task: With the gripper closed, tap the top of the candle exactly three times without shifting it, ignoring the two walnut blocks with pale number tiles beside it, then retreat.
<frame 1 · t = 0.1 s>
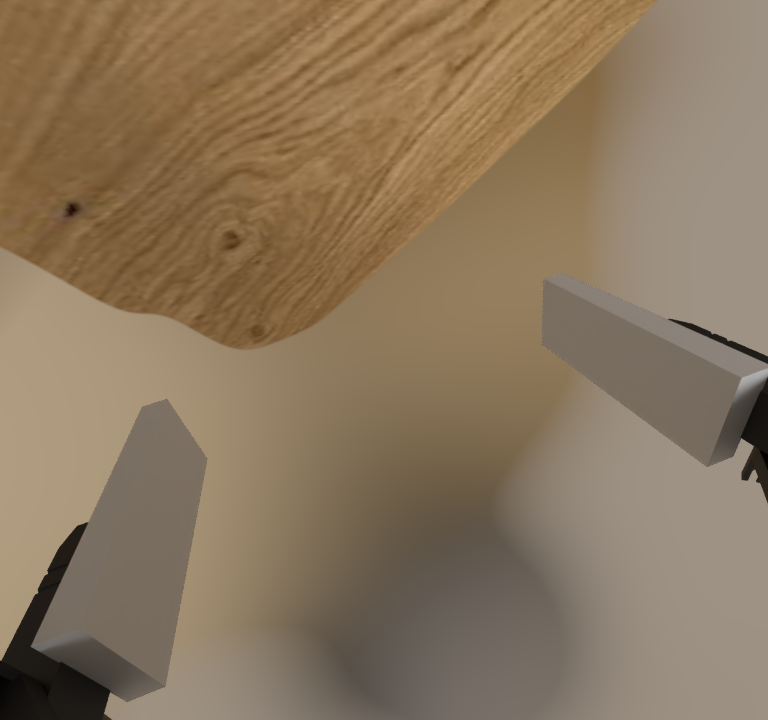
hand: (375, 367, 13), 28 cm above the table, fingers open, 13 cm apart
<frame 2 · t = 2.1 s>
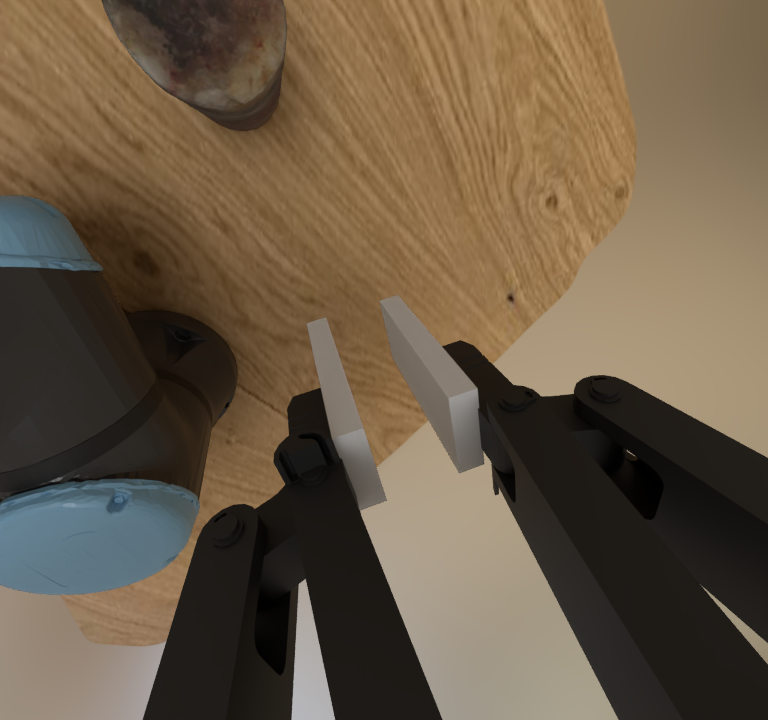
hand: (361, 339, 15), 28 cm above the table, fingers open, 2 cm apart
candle: (234, 78, 32), on the table
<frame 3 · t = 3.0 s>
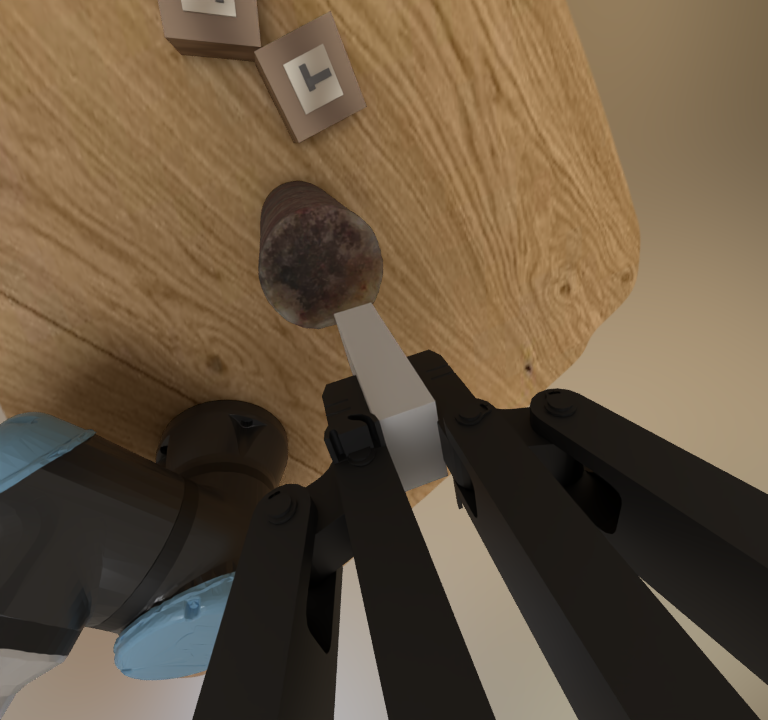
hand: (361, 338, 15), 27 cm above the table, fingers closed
block seven: (215, 9, 29), on the table
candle: (299, 218, 38), on the table
block two: (306, 90, 33), on the table
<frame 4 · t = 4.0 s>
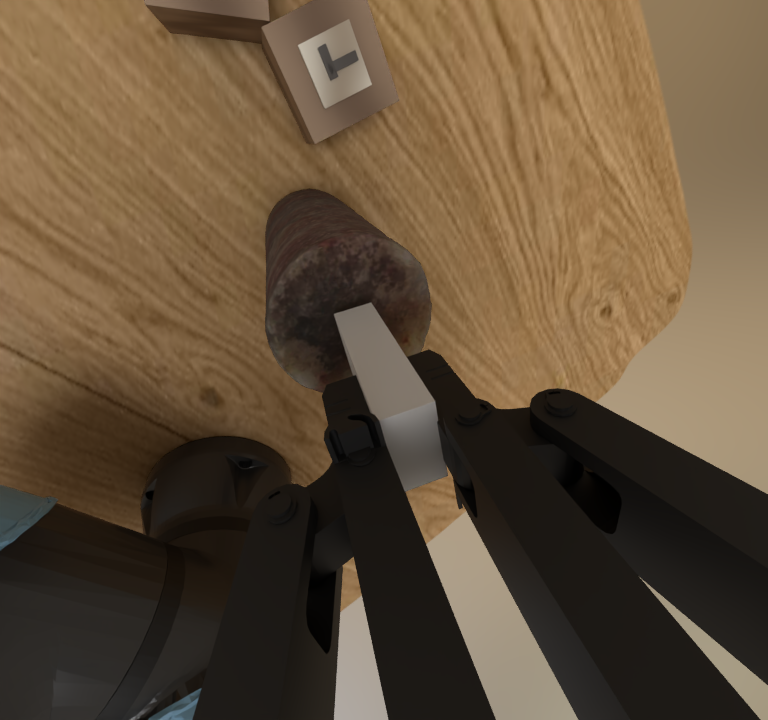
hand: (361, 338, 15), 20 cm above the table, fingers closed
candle: (310, 232, 32), on the table
block two: (322, 80, 27), on the table
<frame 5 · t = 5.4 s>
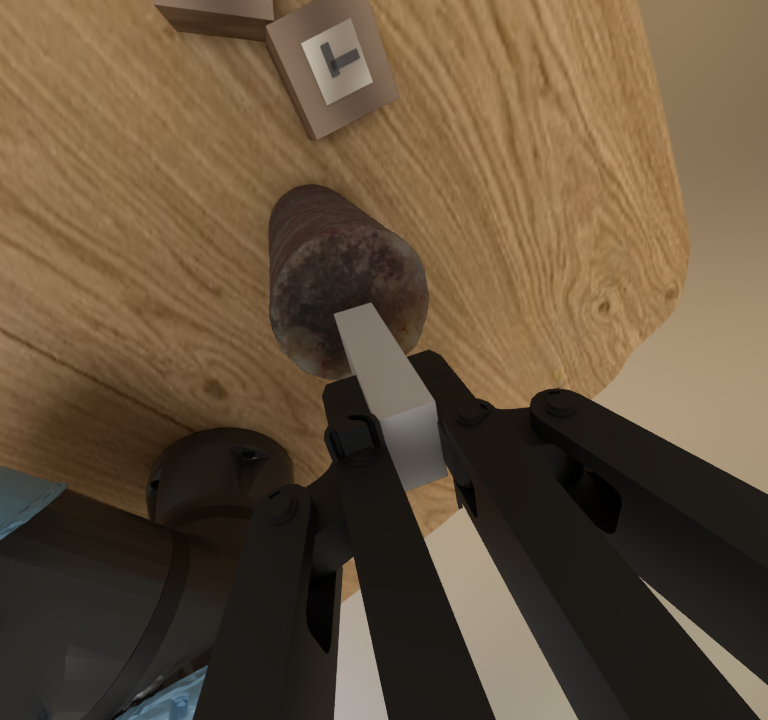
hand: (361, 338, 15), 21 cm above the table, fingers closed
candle: (312, 227, 33), on the table
block two: (325, 77, 28), on the table
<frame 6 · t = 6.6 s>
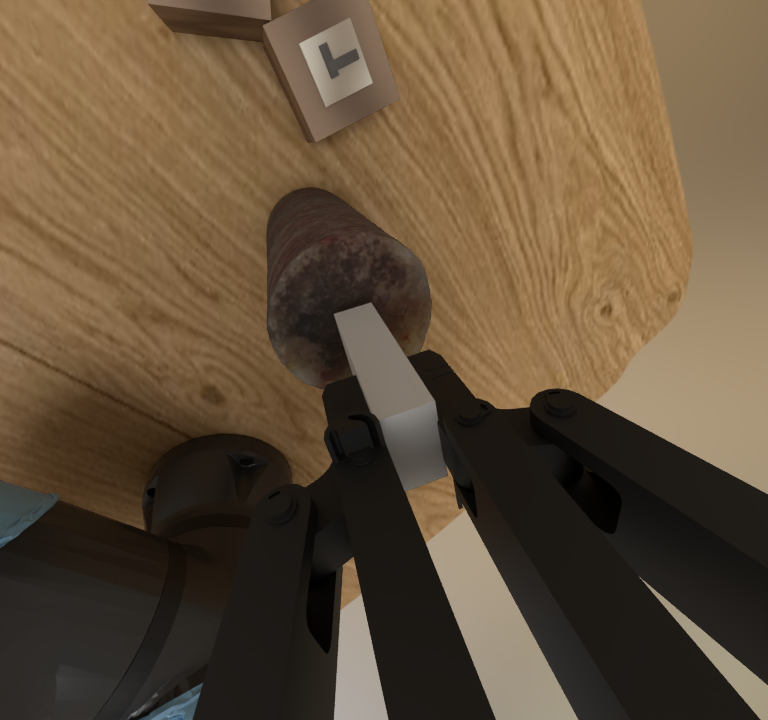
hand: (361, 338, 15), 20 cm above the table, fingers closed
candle: (311, 231, 32), on the table
block two: (323, 78, 27), on the table
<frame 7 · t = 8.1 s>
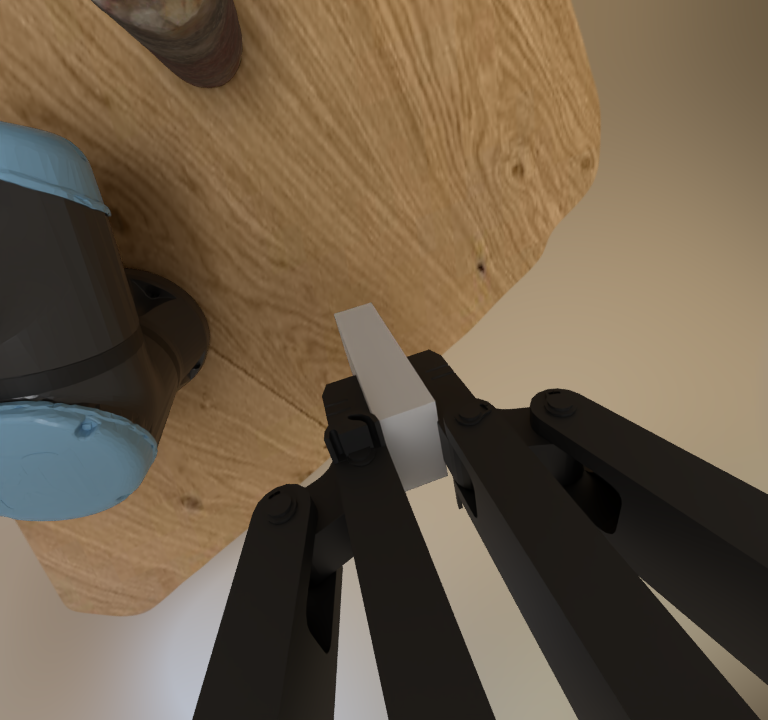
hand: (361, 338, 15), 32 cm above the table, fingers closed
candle: (199, 36, 33), on the table
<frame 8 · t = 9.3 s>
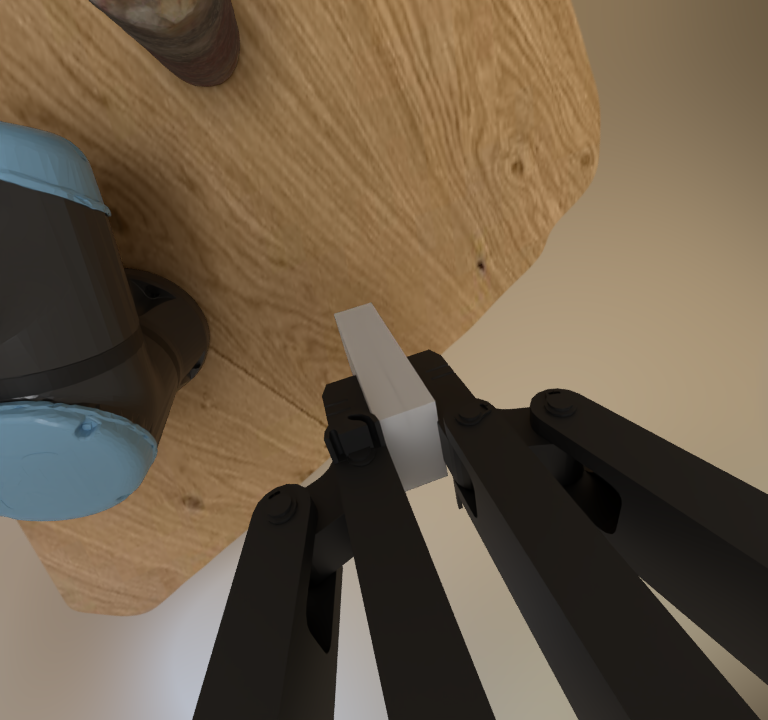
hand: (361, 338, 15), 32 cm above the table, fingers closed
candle: (196, 34, 33), on the table
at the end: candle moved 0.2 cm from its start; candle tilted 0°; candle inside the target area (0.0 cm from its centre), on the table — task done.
